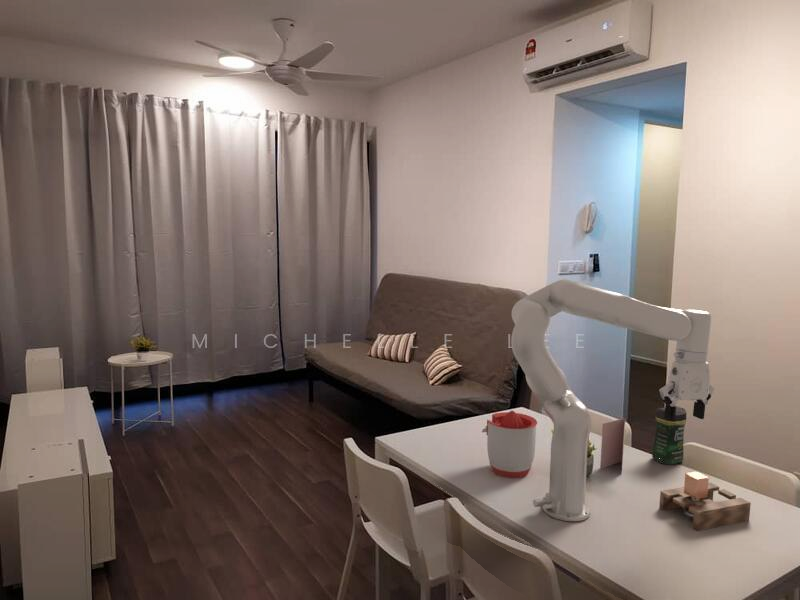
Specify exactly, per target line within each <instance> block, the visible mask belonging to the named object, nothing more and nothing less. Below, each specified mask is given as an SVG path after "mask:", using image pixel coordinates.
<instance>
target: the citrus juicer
mask: <svg viewBox="0 0 800 600" xmlns="http://www.w3.org/2000/svg"><path fill="white" fill-rule="evenodd" d="M537 424H538V421H537V419H536V418H534V417H532V416H530V415H527V414H524V413H518V412H515V411H514V410H510V411H507V412H505V411H504V412H496V413H492V416H491V420H490V419H486V425H485V428H483V429H482V430H481V433H486V436H487V441H486V443H487V444H486V445H487V446H486V447H487V450H486V451H487V455H488V456H487V457H488V462H489V465H490V468H491V470H492V471H493V473H495V474H496V475H498V476H502V477H505V478H517V479H519V478H522V477H525V476H528V474H529V472H530V470H531V469H532V467H533V466H532V465H533V462H534V458H535V453H536V442H537V441H536V439H537V437H536V436H537Z"/></svg>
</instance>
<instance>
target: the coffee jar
mask: <svg viewBox="0 0 800 600" xmlns="http://www.w3.org/2000/svg"><path fill="white" fill-rule="evenodd" d="M675 407H676V415H675V421H670V420H668V419H666V418H664V414H665V407H659V408H657V409H656V413H655V434H654V440H653V441H654V442H653V446H652V447H653V448H652V455H651V457H652V459H654V460H655V461H656V462H658V463H659V462H660V464H665V465H675V464H680V463H683V461H684V453H685V451H684V440H685V439H684V437H685V436H684V435H685V434H684V433H685V427H686V423H687V415H688V414H687V410H686V409H685V408H684V407H680V406H678V405H675ZM659 458H660V459H659Z"/></svg>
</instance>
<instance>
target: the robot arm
mask: <svg viewBox="0 0 800 600" xmlns="http://www.w3.org/2000/svg"><path fill="white" fill-rule="evenodd" d="M561 312H564V313H566V314H569V315H571V316H572V315H573V316H576V317H581V318H583V319H584V318H585V319H589V320H592V321H595V322H600V323H603V324H607V325H610V326H614V327H618V328H622V329H627V330H631V331H636V332H639V333H642V334H646V335H649V336H654V337H658V338H662V339H664V340H668V341H674V342H675V341H676V345H675V346H676V347H675V352H674V353H673V357H674V359H673V361H672V363H671V368H670V372H669V377H668V383H667V384H666V385H664V386H663V387H661V388H659V391H658V392H659V394H660V399H661V400H662V401H663V404H665V406H664V408H665V414H664V418H666V419H668V420H670V421H675V415H676V407H675V406H676V404H677V403H678V402H679V401H694V402H693V411H692V416H693V417H695V418H697V419H699V420H704V419H705V411H706V406H707V405H708V403H709V402H708V401H709V400H710V399H711V398H712V395H713V392H714V391H715V387H714V386H712V385H710V366H709V365H710V364H709V362H707V359H708V352H709V351H708V350H709V342H710V333H711V325H712V315H711V314H710V312H708V311H705V310H701V309H700V310H699V309H683V310H682V309H676V308H670V307H666V306H665V307H664V306H658V305H654V304H651V303H647V302H645V301H641V300H638V299H636V298H633V297H631V296H629V295H625V294H622V293H619V292H616V291H615V292H614V291H610V290H607V289H603V288H599V287H596V286H592V285H587V284H584V283H580V282H576V281H573V280H569V279H558V280H557V281H554V282H552V283H550V284H548V285H546V286H544V287H542V288H540V289H538V290H536V291H534V292H533V293H531V294H529V295H527V296H523V297H522V298H521V299H519V300H518V301H516V302H515V304H514V305H513V307H512V309H511V318H512V319H511V320H512V321H513V323H514V326H513V329H512V333H511V338H510V339H511V340H510V345H511V350H512V353H513V355H514V357H515V359H516V361H517V363H518V364H519V366H520V367H521V369H522V371H523V373H524V375H525V380H526V383H527V386H528V387H529V389H530V390H531V391H532V393H533V395H534V396H535V397H536V399H537V401H538V402H539V404H540V406H541V407H542V409H543V410H544V413H545V414H546V415H547V416H548V418H549V419H550V420H551V422H552V423H553V431H552V432H553V433H552V436H551V443H550V464H549V465H550V466H549V467H550V468H549V485H548V486H549V489H548V492H545V496H544V497H543V498H538V499H533V500H532V505H533V507H534V508H539V507H542V509H543V511H544V512H545V513H546V514H547V516H548V515H549V516H550V517H552V518H554V519H557V520H559V521H565V522H581V521H584V520H586V519H588V518H589V517H590V515H591V508H590V507H589V505H588V504H587V503H586V488H587V487H586V486H587V468H588V467H587V466H588V465H587V464H588V449H589V448H588V446H589V439H590V434H591V428H592V417H591V414H590V411H589V409H588V407H587V406H586V405H585V403H583V401H581V400H580V399H579V398H578V397H577V396H576V395H575V393H574V392H573V391H572V389H571V388H570V386H569V384H568V380H567V377H566V375H565V372H564V371H563V370H562V369H561V368H560V367H559V365H558V364H557V362H556V360H555V359H554V358H553V356H552V355H551V352H550V350H549V349H548V347H547V345H546V343H545V335H546V332H547V329H548V327H549V325H550V322H551V318H552V317H554V316H556V315H558V314H559V313H561Z"/></svg>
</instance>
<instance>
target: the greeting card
mask: <svg viewBox="0 0 800 600" xmlns="http://www.w3.org/2000/svg"><path fill="white" fill-rule="evenodd" d="M625 429H626V417H625V418H620V419H616V420H613V421H609V422H604V423H602V429H601V430H602V431H601V446H600V447H601V449H600V464H599V468H600V469H603V468H606V467H610V466H612V465H616V464H618V463H619V464H620V463H621V466H623V464H624V448H625V447H624V446H625V445H624V444H625V432H626V431H625ZM622 473H623V472H621V475H622Z"/></svg>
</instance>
